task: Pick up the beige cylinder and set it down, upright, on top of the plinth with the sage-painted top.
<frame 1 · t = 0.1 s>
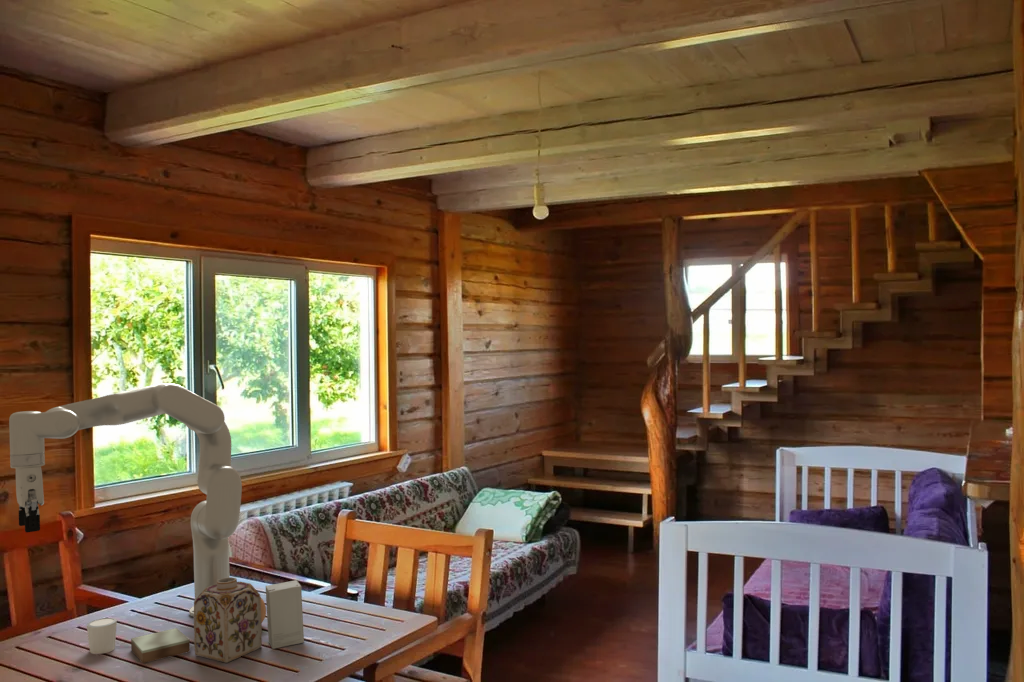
hand: (29, 528, 206), 31 cm above the table, fingers open, 9 cm apart
beige cylinder: (102, 650, 206), on the table
skincare box: (285, 643, 208), on the table
decorative jar: (228, 652, 203), on the table
egg: (253, 628, 220), on the table
plinth: (160, 650, 204), on the table
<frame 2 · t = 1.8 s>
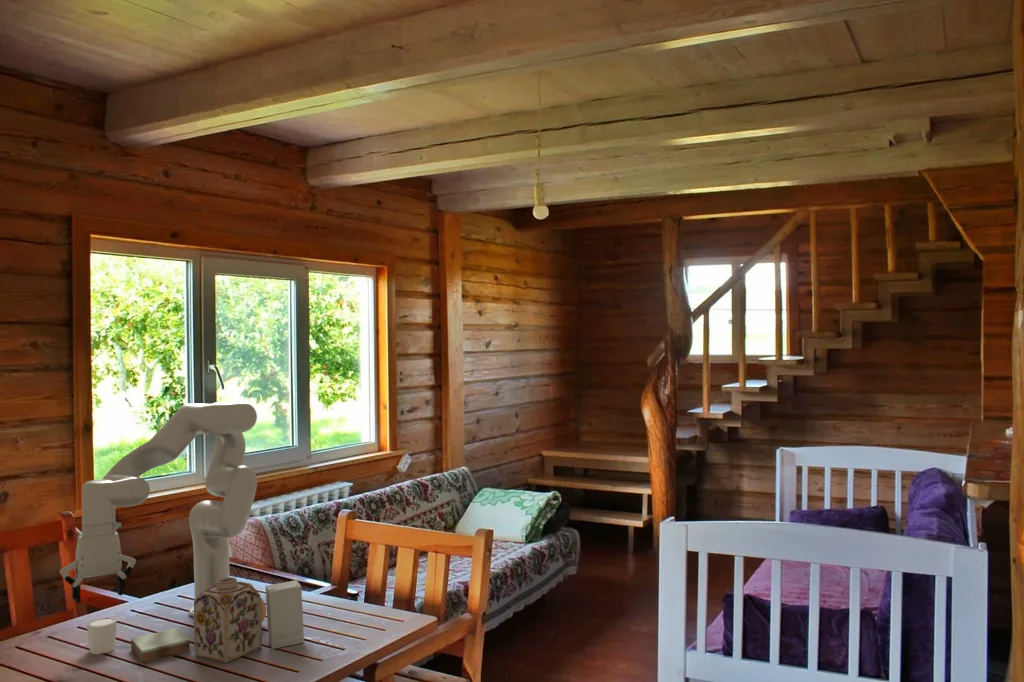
hand: (98, 597, 206), 13 cm above the table, fingers open, 9 cm apart
nothing on the table moved.
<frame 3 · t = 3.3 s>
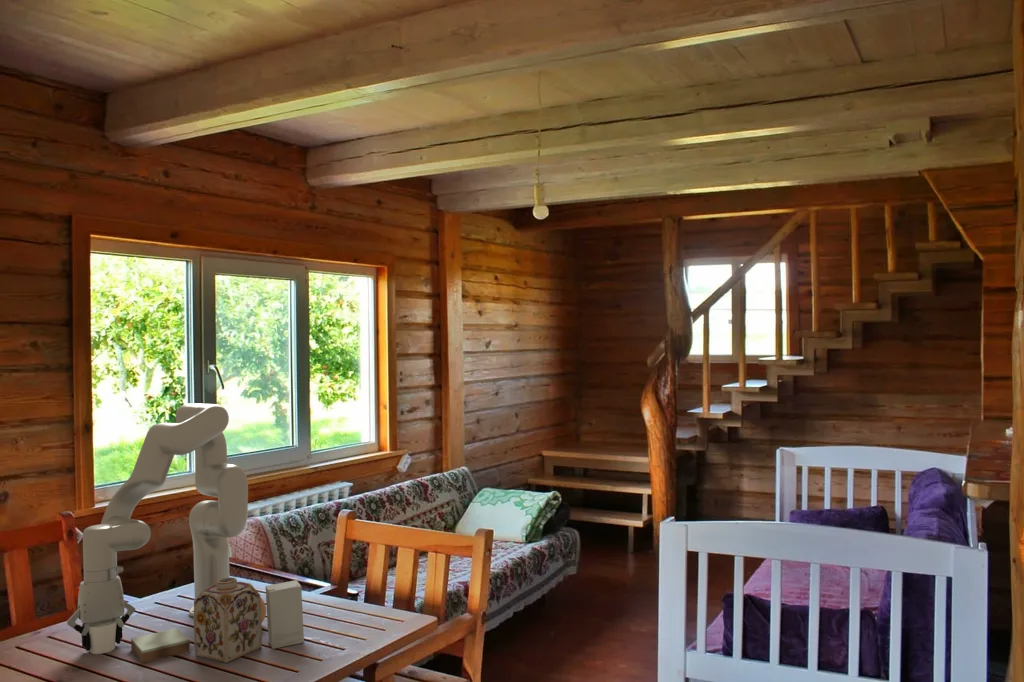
hand: (102, 645, 206), 1 cm above the table, fingers closed on beige cylinder, 6 cm apart
beige cylinder: (102, 650, 206), on the table, touching gripper
everything else where it was.
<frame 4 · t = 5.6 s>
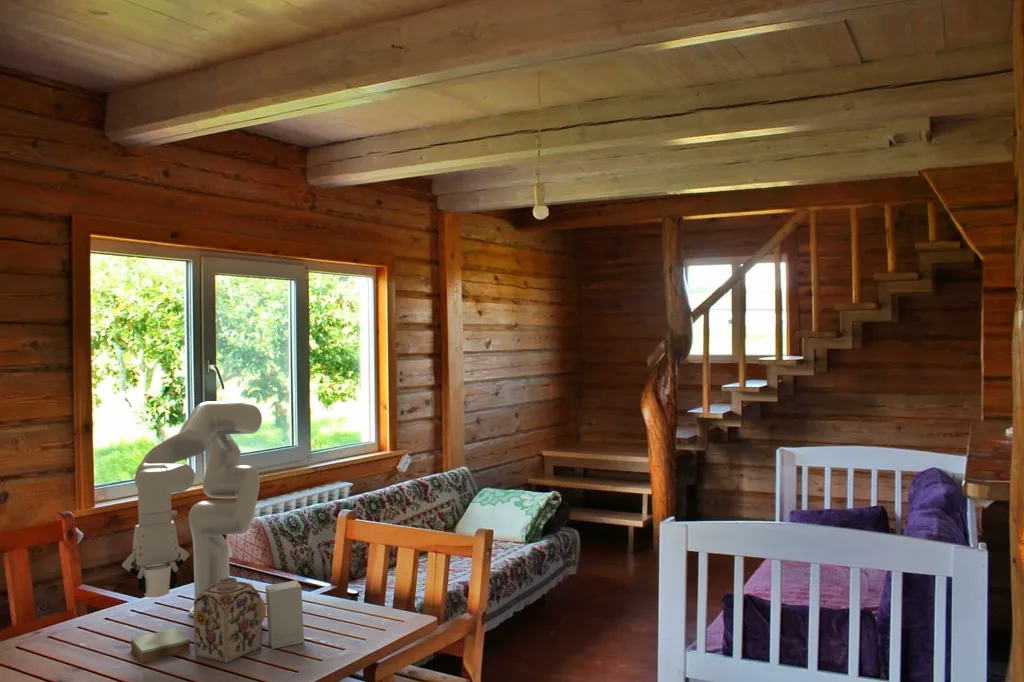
hand: (157, 589, 204), 15 cm above the table, fingers closed on beige cylinder, 6 cm apart
beige cylinder: (157, 594, 204), point 14 cm above the table, touching gripper
everything else where it was.
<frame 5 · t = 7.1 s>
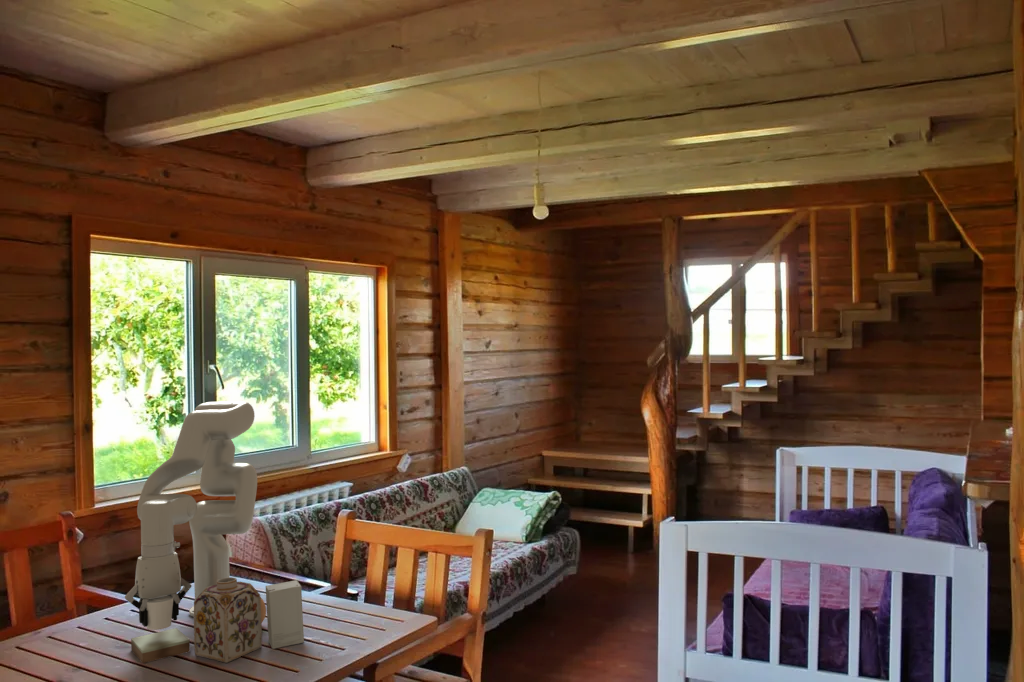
hand: (159, 621, 204), 7 cm above the table, fingers closed on beige cylinder, 6 cm apart
beige cylinder: (159, 626, 204), point 6 cm above the table, touching gripper
everything else where it was.
when the fingers open (5 cm above the table, at t = 8.0 s): beige cylinder drops 1 cm, resting on plinth.
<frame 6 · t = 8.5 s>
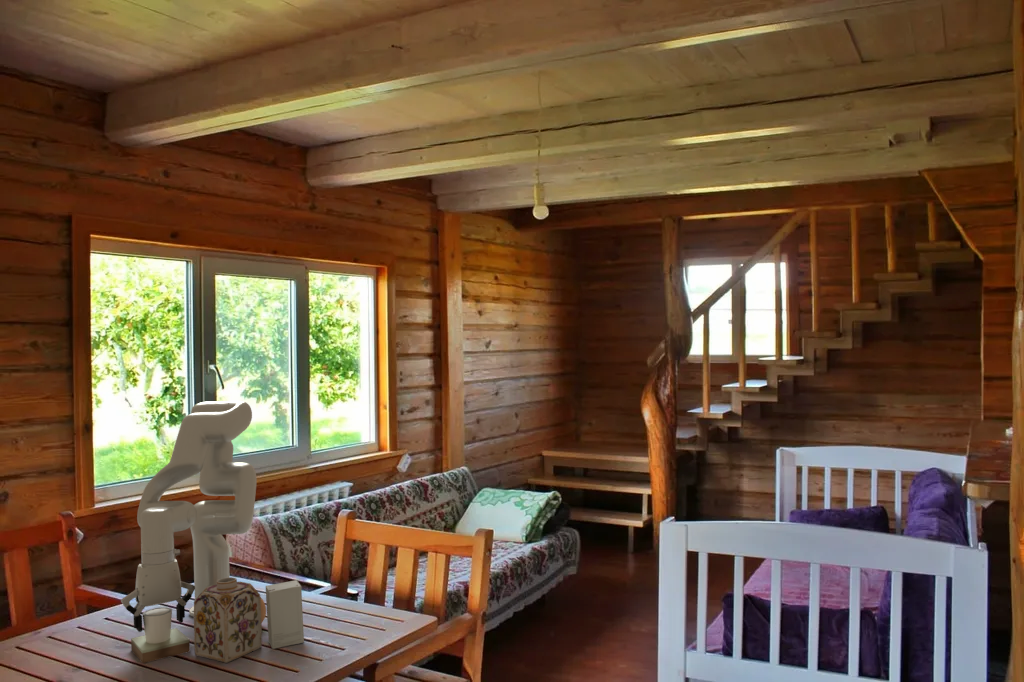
hand: (159, 625, 204), 6 cm above the table, fingers open, 9 cm apart
beige cylinder: (158, 640, 204), point 3 cm above the table, touching plinth
everything else where it was.
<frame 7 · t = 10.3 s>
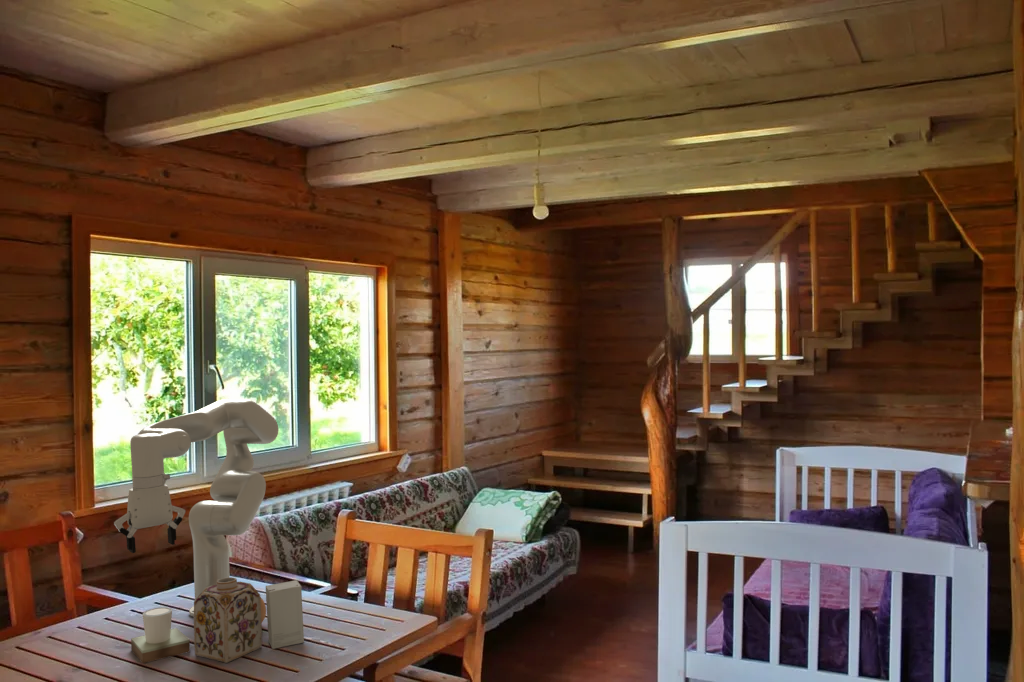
hand: (152, 547, 211), 24 cm above the table, fingers open, 9 cm apart
nothing on the table moved.
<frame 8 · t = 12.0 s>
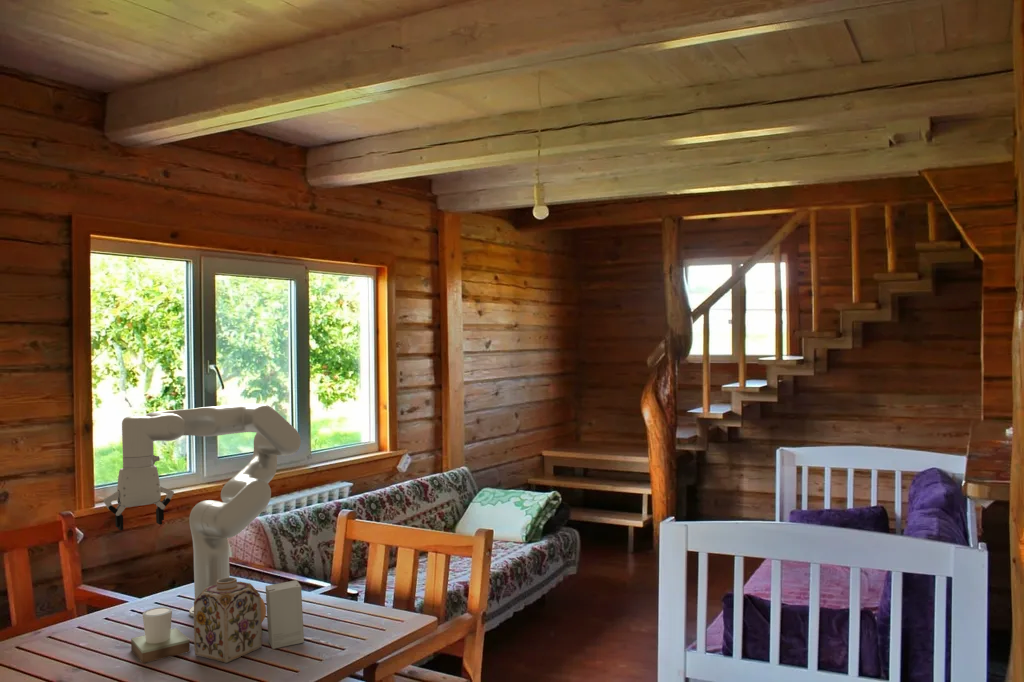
hand: (140, 526, 218), 28 cm above the table, fingers open, 9 cm apart
nothing on the table moved.
at the end: beige cylinder inside the target area on the plinth (0.4 cm from its centre), point 2.8 cm above the plinth's base; beige cylinder tilted 0°; the gripper is holding nothing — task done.
